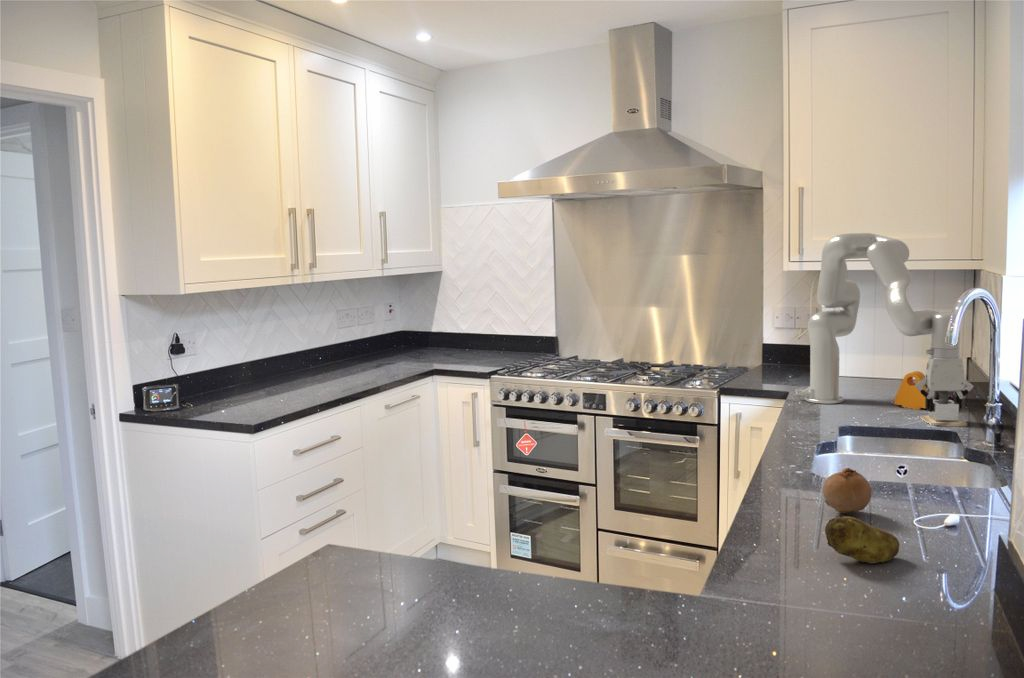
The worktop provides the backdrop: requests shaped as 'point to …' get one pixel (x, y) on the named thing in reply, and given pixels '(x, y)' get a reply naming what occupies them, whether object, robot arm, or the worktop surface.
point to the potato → (860, 540)
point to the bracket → (911, 392)
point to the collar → (944, 411)
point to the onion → (847, 491)
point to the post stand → (943, 399)
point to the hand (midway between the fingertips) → (943, 410)
